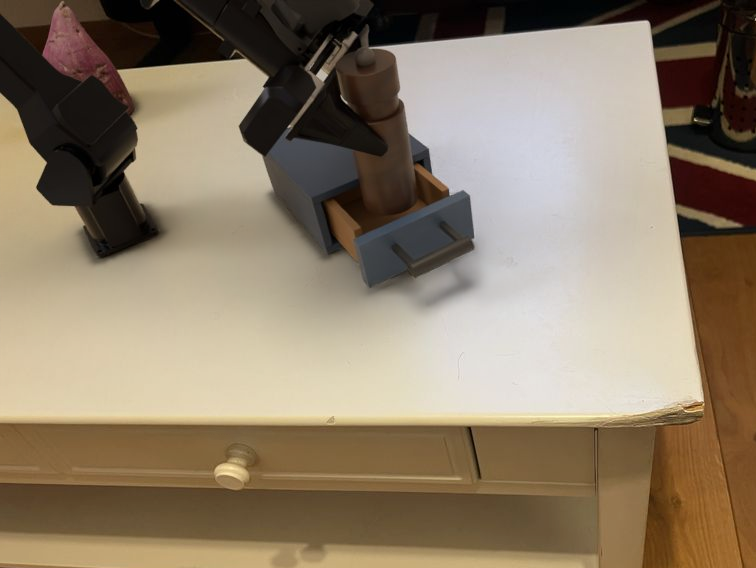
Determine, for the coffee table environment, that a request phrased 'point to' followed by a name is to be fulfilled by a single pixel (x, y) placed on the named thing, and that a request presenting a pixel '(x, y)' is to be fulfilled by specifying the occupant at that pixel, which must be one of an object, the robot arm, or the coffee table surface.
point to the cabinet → (318, 179)
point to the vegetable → (81, 55)
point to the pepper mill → (380, 129)
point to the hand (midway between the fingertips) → (394, 135)
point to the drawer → (403, 230)
